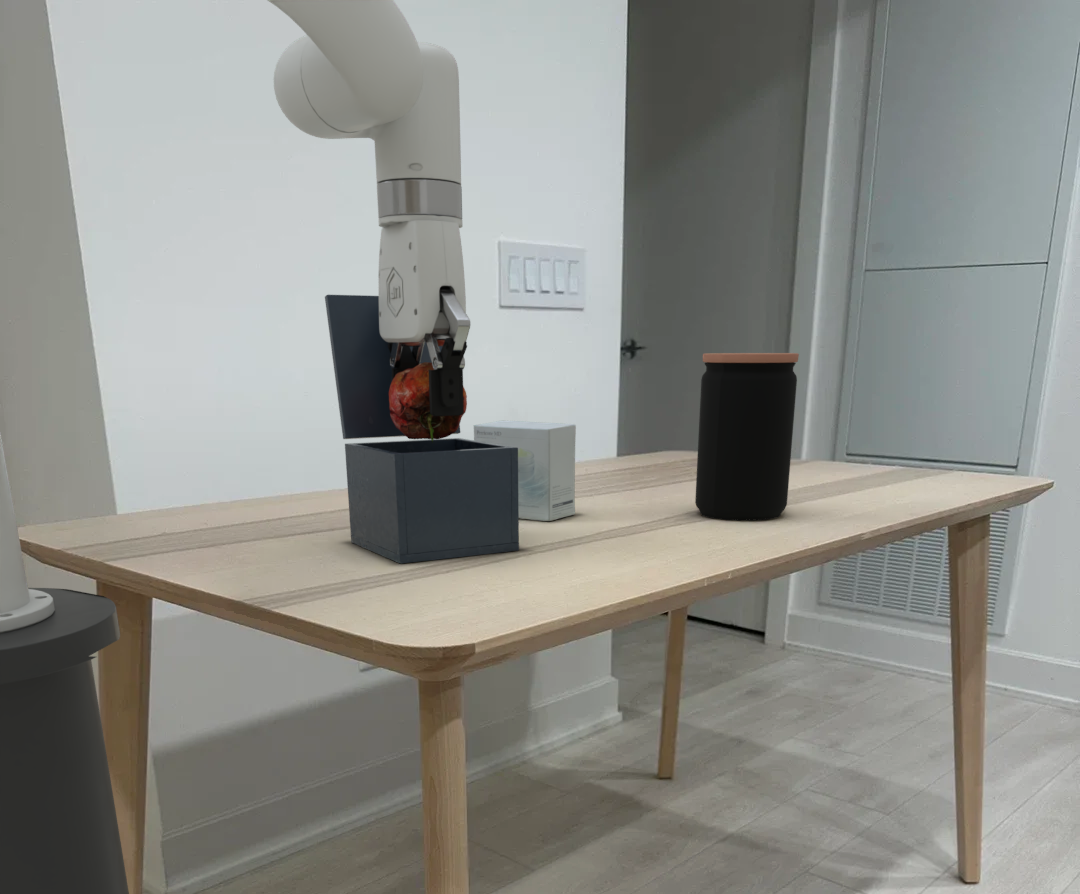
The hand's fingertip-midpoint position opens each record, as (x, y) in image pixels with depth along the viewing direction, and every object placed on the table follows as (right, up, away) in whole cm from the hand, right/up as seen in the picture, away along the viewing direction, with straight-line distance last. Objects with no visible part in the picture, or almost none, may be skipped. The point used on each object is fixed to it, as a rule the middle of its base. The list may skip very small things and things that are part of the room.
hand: (427, 412), depth 97 cm
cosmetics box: (+9, -5, +24) cm, 26 cm away
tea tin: (0, -12, +4) cm, 13 cm away
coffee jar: (+34, -5, +24) cm, 42 cm away
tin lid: (-4, +6, +4) cm, 8 cm away
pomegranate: (0, -3, +1) cm, 3 cm away
